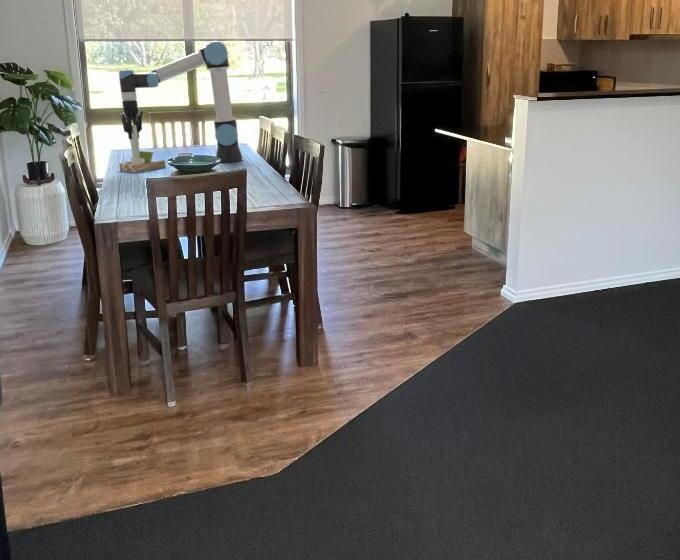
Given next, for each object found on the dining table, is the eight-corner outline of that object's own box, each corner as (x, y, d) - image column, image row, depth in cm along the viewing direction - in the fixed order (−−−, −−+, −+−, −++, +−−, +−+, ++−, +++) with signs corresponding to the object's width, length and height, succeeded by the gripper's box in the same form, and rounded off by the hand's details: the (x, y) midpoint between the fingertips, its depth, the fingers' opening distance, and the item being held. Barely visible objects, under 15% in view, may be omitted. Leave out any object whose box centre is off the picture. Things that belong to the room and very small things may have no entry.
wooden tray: (165, 167, 405) (164, 160, 403) (136, 172, 391) (135, 165, 390) (149, 165, 414) (148, 158, 413) (120, 170, 400) (119, 163, 399)
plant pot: (148, 168, 397) (149, 152, 396) (132, 166, 399) (132, 150, 398) (155, 168, 407) (156, 152, 405) (140, 166, 408) (140, 150, 407)
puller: (145, 169, 397) (140, 125, 390) (142, 170, 396) (136, 125, 389) (133, 167, 404) (128, 124, 397) (130, 168, 403) (124, 124, 395)
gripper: (137, 98, 397) (142, 142, 404) (113, 101, 386) (118, 146, 393) (145, 99, 392) (150, 143, 399) (121, 101, 381) (126, 147, 388)
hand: (134, 144), depth 396 cm, fingers closed on puller, 2 cm apart
